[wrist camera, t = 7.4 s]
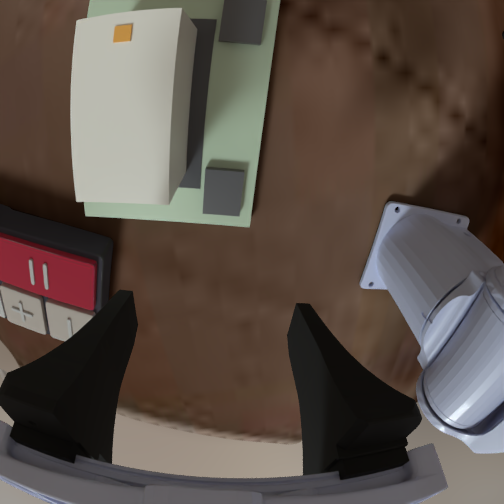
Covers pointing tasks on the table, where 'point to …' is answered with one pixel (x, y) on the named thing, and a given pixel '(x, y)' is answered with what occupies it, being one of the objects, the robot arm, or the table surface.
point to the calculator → (51, 273)
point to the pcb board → (214, 110)
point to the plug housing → (131, 105)
